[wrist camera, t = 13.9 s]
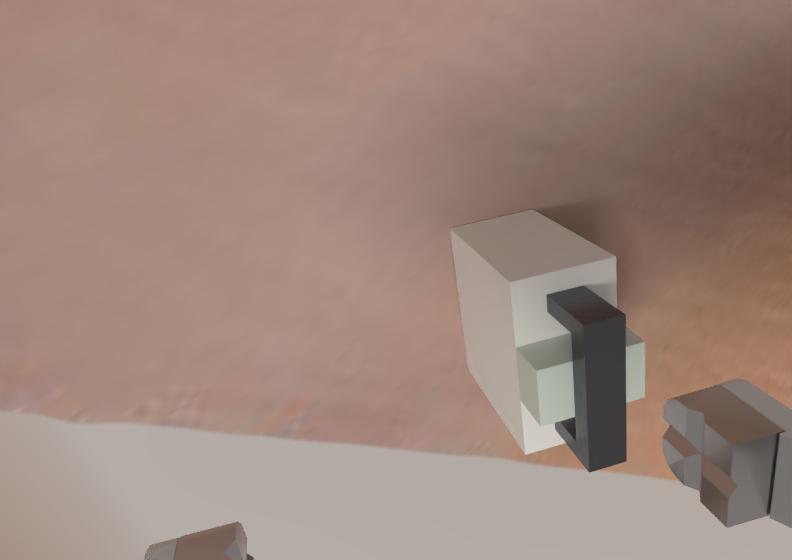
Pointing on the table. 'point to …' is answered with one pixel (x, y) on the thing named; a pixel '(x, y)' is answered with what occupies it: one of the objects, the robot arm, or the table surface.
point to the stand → (530, 318)
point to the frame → (594, 376)
